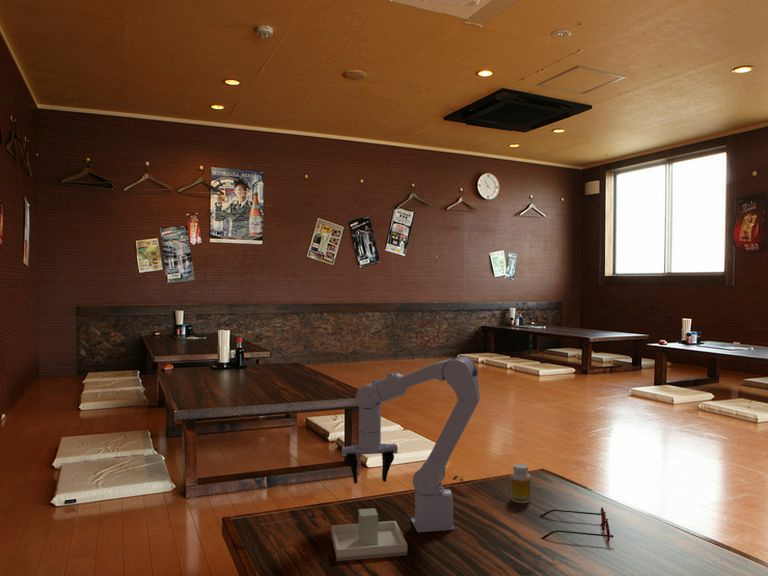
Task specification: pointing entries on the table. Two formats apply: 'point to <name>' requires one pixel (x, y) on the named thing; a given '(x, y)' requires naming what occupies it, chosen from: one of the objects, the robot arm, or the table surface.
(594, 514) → the glasses
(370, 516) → the sage block
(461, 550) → the table surface
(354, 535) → the serving tray
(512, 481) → the supplement bottle
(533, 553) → the table surface
